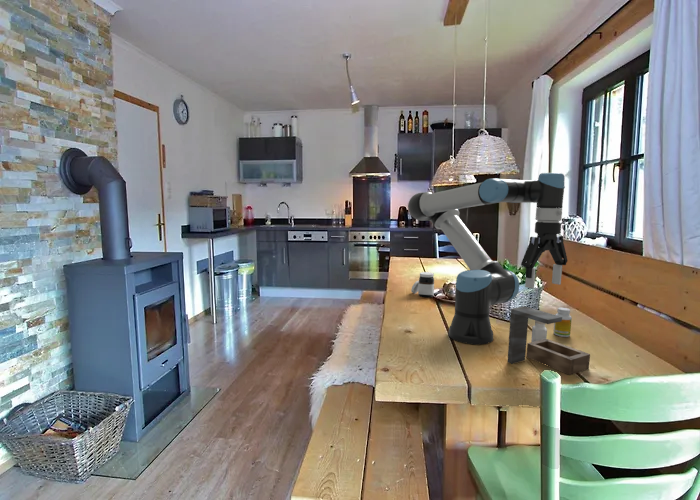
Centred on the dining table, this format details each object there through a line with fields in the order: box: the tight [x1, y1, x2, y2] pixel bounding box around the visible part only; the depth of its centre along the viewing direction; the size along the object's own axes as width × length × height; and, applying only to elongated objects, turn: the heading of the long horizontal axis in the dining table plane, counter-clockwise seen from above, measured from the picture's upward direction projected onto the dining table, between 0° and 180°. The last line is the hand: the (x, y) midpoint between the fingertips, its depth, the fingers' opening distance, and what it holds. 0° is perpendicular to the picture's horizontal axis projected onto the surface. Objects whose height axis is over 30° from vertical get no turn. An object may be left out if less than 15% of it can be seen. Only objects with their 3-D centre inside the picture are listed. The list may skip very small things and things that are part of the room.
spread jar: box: [410, 271, 435, 299], centre depth 198 cm, size 12×11×12 cm
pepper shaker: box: [530, 320, 548, 343], centre depth 131 cm, size 4×4×10 cm
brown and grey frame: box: [506, 306, 591, 376], centre depth 114 cm, size 14×18×17 cm
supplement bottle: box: [553, 307, 572, 338], centre depth 142 cm, size 5×5×10 cm
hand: (543, 285), depth 129 cm, fingers open, 13 cm apart
